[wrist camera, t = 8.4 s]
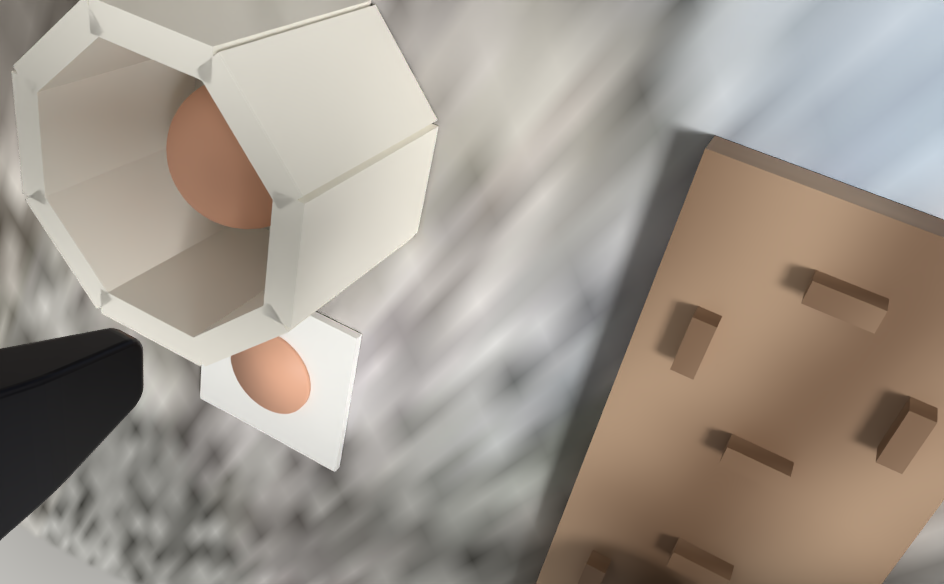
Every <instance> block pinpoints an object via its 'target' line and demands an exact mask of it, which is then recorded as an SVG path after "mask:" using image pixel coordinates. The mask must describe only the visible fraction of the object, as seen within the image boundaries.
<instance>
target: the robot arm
mask: <svg viewBox="0 0 944 584" xmlns="http://www.w3.org/2000/svg"><path fill="white" fill-rule="evenodd" d="M142 392H143V347H142V345H141V343H140V341H138V340H137V339H136V338H134V337H132V336H130V335H128V334H126V333H124V332H123V331H121V330H118V329H114V328H109V329H102V330H97V331H92V332H86V333H81V334H76V335H70V336H65V337H60V338H55V339H49V340H44V341H39V342H33V343H28V344H23V345H18V346H12V347H7V348H2V349H0V540H1V539H2V538H3V537H4V536H6V535H7V534H8V533H9V532H10V531H11V530H12V529H14V528H15V527H16V526H17V525H18V524H19V523H20V522H22V521H23V520H24V519H25V518H26V517H27V516H28V515H30V514H31V513H32V512H33V511H34V510H35V509H36V508H37V507H39V506H40V505H41V504H42V503H43V502H44V501H45V500H46V499H47V498H48V497H49V496H51V495H52V494H53V493H54V492H55V491H56V490H57V489H58V488H59V487H60V486H61V485H62V484H63V483H64V482H65V481H66V480H67V479H68V478H69V477H70V476H71V475H72V474H73V472H74V471H75V470H76V469H77V468H78V467H79V466H80V465H81V464H82V463H83V462H84V461H85V460H86V458H87V457H88V456H89V455H90V454H91V453H92V452H93V451H94V450H95V449H96V448H97V447H98V446H99V445H100V443H101V442H102V441H103V440H104V439H105V438H106V437H107V436H108V435H109V434H110V433H111V432H112V431H113V430H114V428H115V427H116V426H117V425H118V424H119V423H120V422H121V421H122V420H123V419H124V418H125V417H126V416H127V415H128V413H129V412H130V411H131V410H132V409H133V408H134V407H135V406H136V404H137V403H138V401H139V399H140V397H141V395H142Z"/></svg>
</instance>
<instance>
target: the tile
mask: <svg viewBox="0 0 944 584" xmlns="http://www.w3.org/2000/svg"><path fill="white" fill-rule="evenodd" d="M361 338H362V334H360V333H358V332H356V331H354V330H352V329H350V328H348V327H346V326H344V325H342V324H340V323H338V322H336V321H334V320H332V319H330V318H328V317H326V316H324V315H322V314H320V313H318V312H314V313H313V314H312V315H310V316H309V317H308V318H306V319H305V320H304V321H302V322H301V323H300V324H298V325H297V326H296V327H294V328H293V329H292V330H290V331H289V332H288V333H285V334H283V335H280V336H278V337H276V338H273V339H271V340H268V341H266V342H264V343H261V344H259V345H256V346H254V347H251V348H249V349H247V350H244V351H242V352H239V353H237V354H234V355H232V356H230V357H227V358H225V359H222V360H220V361H218V362H215V363H213V364H210V365H208V366H204V365H203V364H202V365H201V389H200V398H201V399H203V400H204V401H206V402H208V403H210V404H212V405H213V406H215V407H217V408H219V409H221V410H223V411H224V412H226V413H228V414H230V415H232V416H234V417H235V418H237V419H239V420H241V421H243V422H244V423H246V424H248V425H250V426H252V427H254V428H255V429H257V430H259V431H261V432H263V433H265V434H266V435H268V436H270V437H272V438H274V439H276V440H277V441H279V442H281V443H283V444H285V445H286V446H288V447H290V448H292V449H294V450H296V451H297V452H299V453H301V454H303V455H305V456H307V457H308V458H310V459H312V460H314V461H316V462H318V463H319V464H321V465H323V466H325V467H327V468H328V469H330V470H332V471H334V472H335V471H336V470H337V469H338V468H339V467H340V461H341V455H342V449H343V443H344V438H345V432H346V426H347V420H348V414H349V408H350V402H351V396H352V391H353V385H354V379H355V373H356V367H357V361H358V355H359V349H360V343H361Z"/></svg>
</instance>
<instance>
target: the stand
mask: <svg viewBox="0 0 944 584" xmlns="http://www.w3.org/2000/svg"><path fill="white" fill-rule="evenodd" d="M943 500H944V220H943V219H940V218H937V217H934V216H932V215H929V214H926V213H924V212H921V211H918V210H915V209H913V208H910V207H907V206H905V205H902V204H899V203H896V202H894V201H891V200H888V199H886V198H883V197H880V196H877V195H875V194H872V193H869V192H867V191H864V190H861V189H859V188H856V187H853V186H850V185H848V184H845V183H842V182H840V181H837V180H834V179H831V178H829V177H826V176H823V175H821V174H818V173H815V172H812V171H810V170H807V169H804V168H802V167H799V166H796V165H793V164H791V163H788V162H785V161H783V160H780V159H777V158H774V157H772V156H769V155H766V154H764V153H761V152H758V151H756V150H753V149H750V148H747V147H745V146H742V145H739V144H737V143H734V142H731V141H728V140H726V139H723V138H720V137H718V136H714V137H713V139H712V140H711V141H710V143H709V144H708V145H707V147H706V148H705V150H704V153H703V155H702V158H701V160H700V163H699V166H698V168H697V171H696V173H695V176H694V178H693V181H692V184H691V186H690V189H689V191H688V194H687V196H686V199H685V202H684V204H683V207H682V209H681V212H680V214H679V217H678V220H677V222H676V225H675V227H674V230H673V232H672V235H671V238H670V240H669V243H668V245H667V248H666V250H665V253H664V255H663V258H662V261H661V263H660V266H659V268H658V271H657V273H656V276H655V279H654V281H653V284H652V286H651V289H650V291H649V294H648V297H647V299H646V302H645V304H644V307H643V309H642V312H641V315H640V317H639V320H638V322H637V325H636V327H635V330H634V333H633V335H632V338H631V340H630V343H629V345H628V348H627V351H626V353H625V356H624V358H623V361H622V363H621V366H620V369H619V371H618V374H617V376H616V379H615V381H614V384H613V387H612V389H611V392H610V394H609V397H608V399H607V402H606V405H605V407H604V410H603V412H602V415H601V417H600V420H599V423H598V425H597V428H596V430H595V433H594V435H593V438H592V441H591V443H590V446H589V448H588V451H587V453H586V456H585V459H584V461H583V464H582V466H581V469H580V471H579V474H578V477H577V479H576V482H575V484H574V487H573V489H572V492H571V494H570V497H569V500H568V502H567V505H566V507H565V510H564V512H563V515H562V518H561V520H560V523H559V525H558V528H557V530H556V533H555V536H554V538H553V541H552V543H551V546H550V548H549V551H548V554H547V556H546V559H545V561H544V564H543V566H542V569H541V572H540V574H539V577H538V579H537V582H536V584H882V583H883V581H884V580H885V579H886V577H887V576H888V575H889V573H890V572H891V571H892V569H893V568H894V566H895V565H896V564H897V562H898V561H899V560H900V558H901V557H902V556H903V554H904V553H905V552H906V550H907V549H908V548H909V546H910V545H911V543H912V542H913V541H914V539H915V538H916V537H917V535H918V534H919V533H920V531H921V530H922V529H923V527H924V526H925V525H926V523H927V522H928V521H929V519H930V518H931V516H932V515H933V514H934V512H935V511H936V510H937V508H938V507H939V506H940V504H941V503H942V502H943Z"/></svg>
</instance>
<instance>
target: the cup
mask: <svg viewBox="0 0 944 584" xmlns="http://www.w3.org/2000/svg"><path fill="white" fill-rule="evenodd" d="M370 2H371V0H80V1H79V2H78V3H77V4H76V5H75V6H74V7H73V8H72V9H70V10H69V11H68V12H67V13H66V14H65V15H64V16H63V17H62V18H61V19H60V20H59V21H58V22H57V23H56V24H55V25H54V26H53V27H52V28H51V29H50V30H49V31H48V32H47V33H46V34H45V35H44V36H43V37H42V38H41V39H40V40H39V41H38V42H37V43H36V44H35V45H34V46H32V47H31V48H30V49H29V50H28V51H27V52H26V53H25V54H24V55H23V56H22V57H21V58H20V59H19V60H18V61H17V62H16V63H15V64H14V65H13V67H14V69H15V70H14V71H11V74H12V85H13V96H14V106H15V117H16V128H17V138H18V149H19V159H20V170H21V181H22V191H23V194H24V195H26V196H28V198H27V199H25V200H26V202H27V204H28V205H29V207H30V208H31V210H32V211H33V213H34V214H35V216H36V217H37V219H38V220H39V222H40V223H41V225H42V226H43V228H44V229H45V231H46V232H47V234H48V235H49V237H50V238H51V240H52V242H53V243H54V245H55V246H56V248H57V249H58V251H59V252H60V254H61V255H62V257H63V258H64V260H65V261H66V263H67V264H68V266H69V267H70V269H71V270H72V272H73V273H74V275H75V276H76V278H77V280H78V281H79V283H80V284H81V286H82V287H83V289H84V290H85V292H86V293H87V295H88V296H89V298H90V299H91V301H92V302H93V304H94V305H95V307H96V308H97V309H98V308H100V307H101V313H102V314H104V315H105V316H107V317H109V318H111V319H113V320H115V321H117V322H118V323H120V324H122V325H124V326H126V327H128V328H130V329H132V330H133V331H135V332H137V333H139V334H141V335H143V336H145V337H146V338H148V339H150V340H152V341H154V342H156V343H158V344H160V345H161V346H163V347H165V348H167V349H169V350H171V351H173V352H175V353H176V354H178V355H180V356H182V357H184V358H186V359H188V360H189V361H191V362H193V363H195V364H197V365H199V366H201V365H202V364H203V365H204V366H208V365H210V364H213V363H215V362H218V361H220V360H222V359H225V358H227V357H230V356H232V355H234V354H237V353H239V352H242V351H244V350H247V349H249V348H251V347H254V346H256V345H259V344H261V343H264V342H266V341H268V340H271V339H273V338H276V337H278V336H280V335H283V334H285V333H288V332H289V331H290V330H292V329H293V328H294V327H296V326H297V325H298V324H300V323H301V322H302V321H304V320H305V319H306V318H308V317H309V316H310V315H312V314H313V313H314V312H315V311H317V310H318V309H319V308H321V307H322V306H323V305H325V304H326V303H327V302H329V301H330V300H331V299H333V298H334V297H335V296H337V295H338V294H339V293H340V292H342V291H343V290H344V289H346V288H347V287H348V286H350V285H351V284H352V283H354V282H355V281H356V280H358V279H359V278H360V277H361V276H363V275H364V274H365V273H367V272H368V271H369V270H371V269H372V268H373V267H375V266H376V265H377V264H379V263H380V262H381V261H383V260H384V259H385V258H386V257H388V256H389V255H390V254H392V253H393V252H394V251H396V250H397V249H398V248H400V247H401V246H402V245H404V244H405V243H406V242H408V241H409V240H410V239H411V238H413V237H414V236H415V234H416V233H417V232H418V228H419V223H420V218H421V213H422V208H423V203H424V198H425V193H426V188H427V183H428V178H429V173H430V168H431V163H432V158H433V153H434V147H435V142H436V137H437V132H438V127H439V126H437V125H434V124H432V123H433V122H435V121H437V118H436V116H435V114H434V112H433V110H432V109H431V107H430V105H429V103H428V101H427V99H426V97H425V96H424V94H423V92H422V90H421V88H420V86H419V85H418V83H417V81H416V79H415V77H414V75H413V73H412V72H411V70H410V68H409V66H408V64H407V62H406V60H405V59H404V57H403V55H402V53H401V51H400V49H399V47H398V46H397V44H396V42H395V40H394V38H393V36H392V34H391V33H390V31H389V29H388V27H387V25H386V23H385V21H384V20H383V18H382V16H381V14H380V12H379V10H378V8H377V7H376V5H373V6H370ZM203 85H205V86H206V88H207V90H208V92H209V93H210V95H211V97H212V98H213V100H214V102H215V103H216V105H217V107H218V108H219V110H220V112H221V113H222V115H223V117H224V118H225V120H226V122H227V124H228V125H229V127H230V129H231V130H232V132H233V134H234V135H235V137H236V139H237V140H238V142H239V144H240V145H241V147H242V149H243V151H244V152H245V154H246V156H247V157H248V159H249V161H250V162H251V164H252V166H253V167H254V169H255V171H256V172H257V174H258V176H259V177H260V179H261V181H262V183H263V184H264V186H265V188H266V189H267V191H268V193H269V194H270V196H271V198H272V199H273V203H272V214H271V226H268V227H264V228H258V229H239V228H232V227H228V226H224V225H221V224H219V223H216V222H214V221H212V220H210V219H208V218H206V217H205V216H203V215H202V214H200V213H199V212H197V211H196V210H195V209H194V208H193V207H192V206H191V205H190V204H189V203H188V202H187V201H186V200H185V199H184V198H183V196H182V195H181V194H180V192H179V191H178V189H177V187H176V185H175V183H174V181H173V179H172V177H171V174H170V171H169V167H168V162H167V152H166V145H167V136H168V131H169V128H170V125H171V122H172V119H173V117H174V116H175V114H176V112H177V110H178V108H179V107H180V106H181V104H182V103H183V102H184V101H185V100H186V98H187V97H188V96H189V95H191V94H192V93H193V92H194V91H195V90H197V89H198V88H200V87H201V86H203Z"/></svg>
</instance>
